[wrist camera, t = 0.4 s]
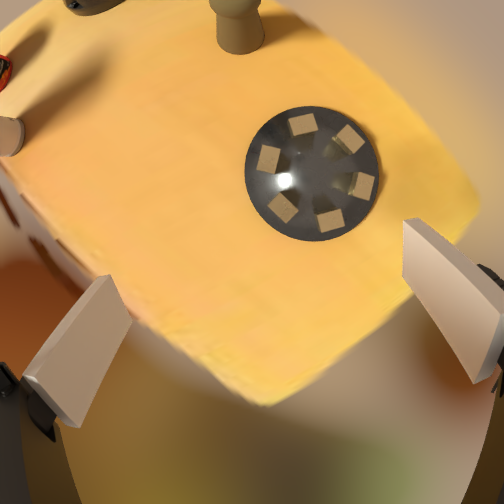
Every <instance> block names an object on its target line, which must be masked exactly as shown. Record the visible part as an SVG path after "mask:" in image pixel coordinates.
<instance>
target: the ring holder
mask: <svg viewBox="0 0 504 504" xmlns="http://www.w3.org/2000/svg"><path fill="white" fill-rule="evenodd" d="M378 181H379V172H378V164H377V159H376V155H375V153H374V150H373V148H372V146H371V143H370V142H369V140H368V138H367V137H366V135H365V134H364V133H363V132H362V130H361V129H360V128H359V127H358V126H357V125H356V124H355V123H354V122H352V121H351V120H350V119H348V118H347V117H345V116H343V115H342V114H340V113H338V112H335V111H333V110H330V109H326V108H322V107H314V106H304V107H297V108H293V109H289V110H286V111H284V112H282V113H280V114H278V115H276V116H274V117H273V118H271V119H270V120H269V121H268V122H267V123H265V124H264V125H263V126H262V127H261V129H260V130H259V131H258V132H257V134H256V135H255V137H254V138H253V140H252V142H251V144H250V146H249V149H248V152H247V155H246V161H245V183H246V187H247V191H248V194H249V197H250V200H251V202H252V203H253V205H254V207H255V209H256V210H257V212H258V213H259V214H260V216H261V217H262V218H263V219H264V220H265V221H266V222H267V223H268V224H269V225H270V226H271V227H273V228H274V229H276V230H277V231H279V232H280V233H282V234H284V235H286V236H289V237H291V238H295V239H298V240H303V241H325V240H330V239H333V238H336V237H339V236H341V235H343V234H345V233H347V232H349V231H350V230H351V229H353V228H354V227H355V226H356V225H358V224H359V223H360V222H361V221H362V219H363V218H364V217H365V216H366V215H367V213H368V211H369V210H370V208H371V206H372V204H373V202H374V200H375V196H376V193H377V188H378Z"/></svg>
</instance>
